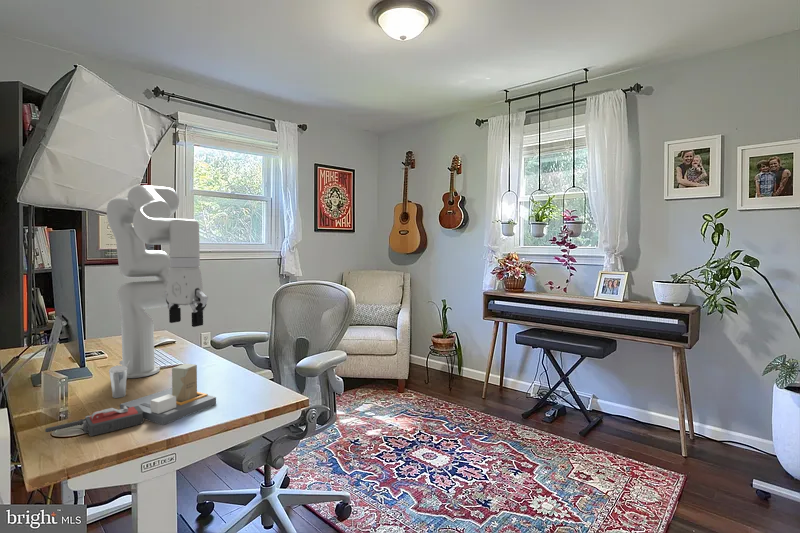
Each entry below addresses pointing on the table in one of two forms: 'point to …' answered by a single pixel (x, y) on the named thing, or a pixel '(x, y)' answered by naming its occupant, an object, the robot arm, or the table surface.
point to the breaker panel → (172, 414)
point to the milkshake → (118, 380)
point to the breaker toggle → (163, 403)
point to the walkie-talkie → (106, 420)
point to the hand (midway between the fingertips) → (186, 324)
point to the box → (184, 382)
